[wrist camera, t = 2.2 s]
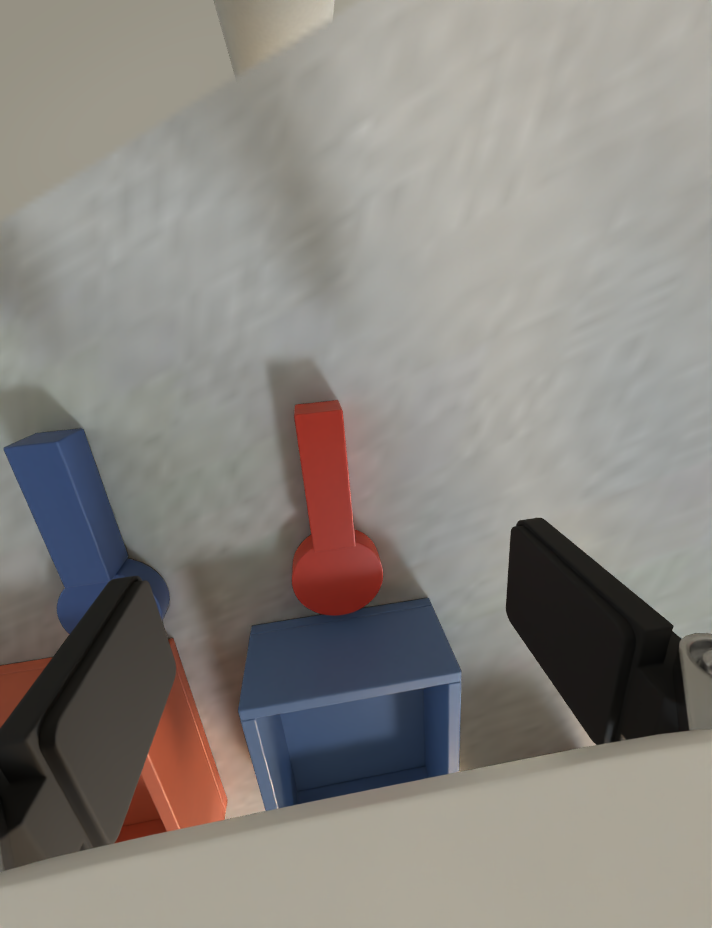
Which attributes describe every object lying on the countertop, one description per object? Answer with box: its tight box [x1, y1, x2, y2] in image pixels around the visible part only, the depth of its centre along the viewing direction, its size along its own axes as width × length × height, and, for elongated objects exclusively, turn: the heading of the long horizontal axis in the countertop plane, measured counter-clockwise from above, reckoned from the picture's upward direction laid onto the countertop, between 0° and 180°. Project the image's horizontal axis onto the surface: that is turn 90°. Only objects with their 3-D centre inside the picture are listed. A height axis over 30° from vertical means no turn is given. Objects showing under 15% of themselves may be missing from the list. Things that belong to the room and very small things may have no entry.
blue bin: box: [238, 598, 462, 811], centre depth 20 cm, size 13×9×5 cm
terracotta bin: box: [0, 638, 227, 843], centre depth 19 cm, size 13×9×5 cm
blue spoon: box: [4, 428, 170, 634], centre depth 16 cm, size 10×4×2 cm, turn 4°
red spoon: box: [292, 400, 383, 616], centre depth 17 cm, size 10×4×2 cm, turn 5°
